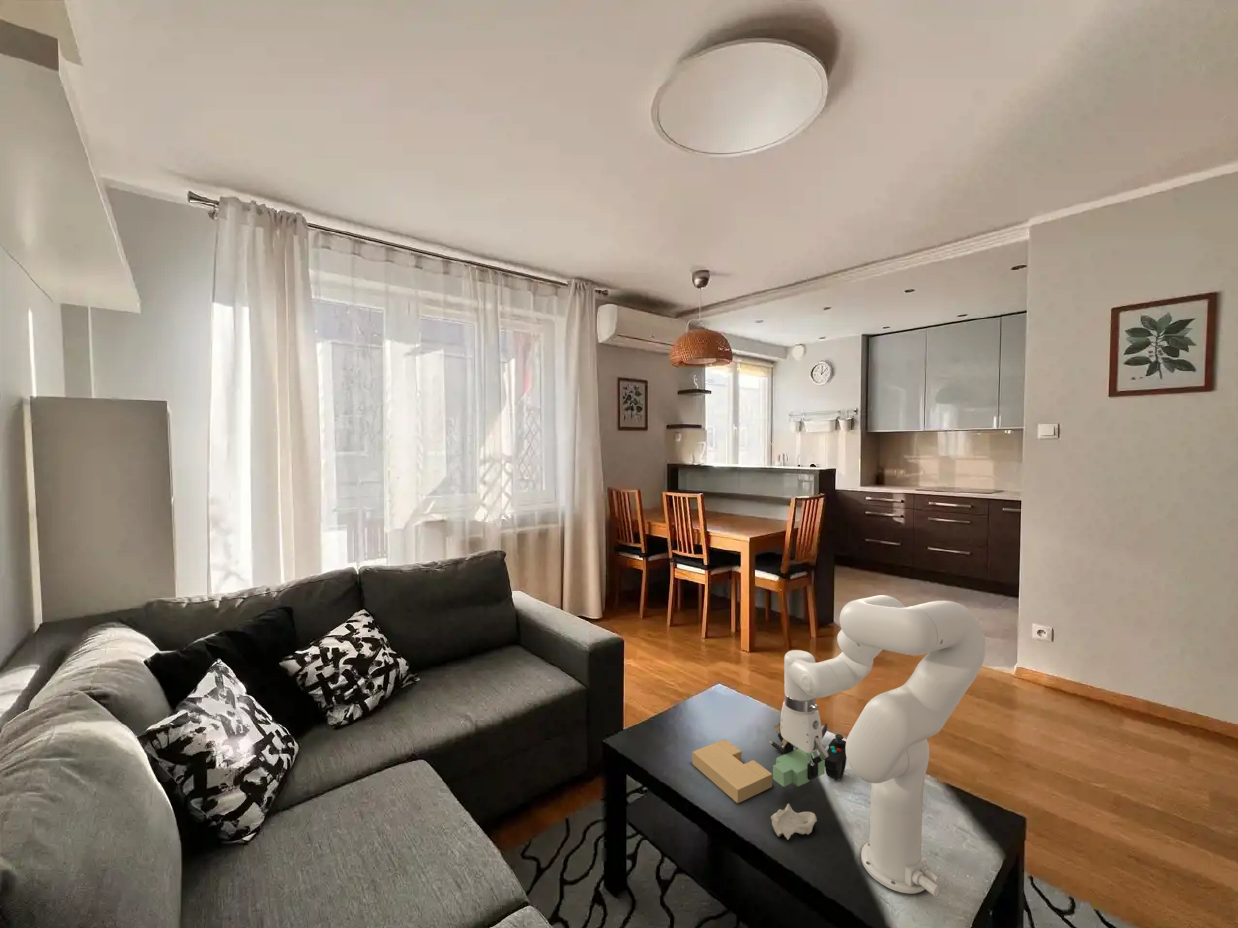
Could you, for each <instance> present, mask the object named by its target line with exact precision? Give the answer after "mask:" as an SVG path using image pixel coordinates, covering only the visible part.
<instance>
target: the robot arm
mask: <svg viewBox="0 0 1238 928" xmlns="http://www.w3.org/2000/svg"><path fill="white" fill-rule="evenodd" d="M838 619H839V620H838V621H839V627H840V631H838V632H837V635H836V640H837V645H838V647H839V649H840V650H841V652H840V653H839V654H838V655H837V656H836V657H834V658H830V659H826V660H822V661H818V662H816V659H815V656H814V655H813V654H812V653H810V652H809V651H805V650H800V649H792V650H789V651H787V652H786V653H785V654H784V658H783V659H784V660H783V662H784V663H783V669H784V671H783V672H784V673H783V674H784V675H783V676H784V678H783V679H784V680H783V681H784V683H783V684H784V688H783V689H784V691H783V692H784V693H783V694H784V696H783V697H784V700H783V702H782V706H781V713H780V722H779V723H776V724H775V725H774V729H775V732H776V734H777V737H778V739H779V741H780V747H781V748H783V754H782V756H783V755H785V754H787V753H789V752H792V751H794V748H795V747H796V748H797V749H801V750H803V751H804V752H806V754H807V757H808V760H809V763H808V764H807V768H808V779H809V780H810V781H812V780H815V779H817V778H818V763H819V762H821V761H823V760H824V759H825V758H827V757H828V756H829V755H828V753H827V749H826V748H825V746H824V745H823V739H822V721H821V715H820V712H819V705H818V704H817V701H816V699H823V698H827V697H830V696H833V695H836V694H839V693H842V692H845V691H849V690H851V689H852V688H854V687H856V686H857V685H858V684H860V682H861V681H863V680H864V679H865V678H866V677H867V676H868V675H869V674H870V673H871V671H872V670H873V665H874V659H875V658H876V657H877V656H878V655H880V653H881V652H882V651H883V650H884V651H888V652H892V653H897V654H902V655H907V656H921V655H925V656H923V658H922V659H921V660H920V661H919V662H918V664H917V665H916V666H915V669H914V671H913V672H912V674H911V675H910V676H909V678H908V679H907V681H906V682H905V683H904V684H902V685H901V686H899V687H896V688H893V689H890V690H887V691H884V692H881V693H879V694H877V695H875V696H873V697H872V698H871V699H870V700H869V701H868V702H867V703H866V705H865V706H864V708H863V709H862V711H860V712H861V713H860V714H859V716H858V717H857V719H856V721H855V723H854V724H853V726H852V728H851V730H850V731H849V733H848V735H847V737H846V740H845V741H846V747H845V751H846V762H847V763H848V765H849V767H850V769H851V771H852V772H853V773H854V774H855V775H856V777H858V778H859V779H861V780H863V781H864V782H867V783H870V810H869V811H870V812H869V815H870V817H869V841H868V842H866V843H865V844H864V845H863V846H862V847H861V852H860V859H861V863H862V866H863V867H864V869H865V870H866V872H867V873H868V874H869V876H870V877H872V878H873V879H874V880H875V882H877V883H879V884H881V885H882V886H884V887H885V888H888V889H890V890H892V891H895V892H898V893H901V894H910V895H911V894H912V895H913V894H918V893H919V894H920V893H921V892H923V891H925V890H926V891H927V892H928V893H930V894H931V895H933V897H938V895H939V893H940V886H939V883H940V877H938V876H937V875H936V874H934V873H933V872H931V871H930V870H929V869H928V867H927V858H926V857H924V856H923V855H922V838H923V837H922V834H923V833H922V831H923V807H924V806H923V805H924V787H925V779H926V775H927V770H928V766H929V761H930V745H929V742H928V739H930V738H932V737H934V736H935V735H937V734H939V733H940V731H941V730H942V729H943V728H944V726H945V725H946V723H947V722H948V721H949V718H950V717H951V715H952V714H953V712H954V711H955V710H956V708H957V707H958V706H959V703H960V702H961V700H962V699H963V697H964V696H965V694H966V692H967V691H968V690H969V688H970V687H971V685H972V684H973V682H974V681H975V680H976V678H977V676H978V675H979V672H980V671H981V669H982V666H983V664H984V661H985V657H986V650H987V649H986V638H985V635H984V631H983V628H982V626H981V623H980V622H979V619H977V617H976V616H975V615H974V613H973V612H972V611H971V610H970V609H969V608H968V607H966V606H965V605H964V604H962V603H960V602H955V601H952V600H932V601H928V602H924V603H920V604H915V605H910V606H905V605H904V604H903V602H901V601H900V600H899V599H897V598H896V597H893V596H890V595H886V594H880V595H873V596H868V597H863V598H857V599H854V600H851V601H849V602H847V603H846V604H845V605H844V606H843V607H842V609H841V611H840V614H839V618H838ZM811 753H813V755H814V757H815V758H814V759H813V757H812V754H811Z"/></svg>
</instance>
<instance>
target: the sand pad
mask: <svg viewBox="0 0 1238 928" xmlns="http://www.w3.org/2000/svg"><path fill="white" fill-rule="evenodd" d="M691 753H692V754H691V756H692V759H691V761H692V762H691V764H692V766H694V767H695V768H697V770H698V771H700V772H701V773H702V775H704V776H705V777H706V778H708V779H709V780H710V781H711V782H712V783H714V784H715V786H716V787H718V788H719V789H720V790H721V791H722V792H723V793H725V794H726V795H727V796H729V797H730V798H731V799H732V800H733V801H734V802H735V803H736V804H740V803H742V802H744V801H746V800H748V799H750V798H752V797H754V796H756V795H758V794H760V793H762V792H764V791H767V790H769V789H771V788H773V772H770V771H769V770H768V769H767V768H765V767H764V766H762V765H761V764H760V763H759V762H757V761H755V760H754V759H752V760H750V761H748V762H745V763H743V762H742V750H741V749H739V748H738V747H737V746H736V745H734V744H732V743H731V742H730V741H728V739H726V738H725V739H722V740H719V741H716V742H713V743H711V744H709V745H706V746H703V747H700V748H697V749H695V750H693V751H692V752H691Z"/></svg>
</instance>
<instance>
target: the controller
mask: <svg viewBox="0 0 1238 928" xmlns="http://www.w3.org/2000/svg"><path fill="white" fill-rule="evenodd" d="M846 741H847V740H844V736H843V735H842V734H839V733H836V734H835V735H834V738H832V740H831V741H830V743H829V744H828V749H826V751H827V753H828V755H829V756H828V757H827V758H825V759H824V760H825V774H826V776H827V777H828V778H830V779H832V780H835V781H840V780H841V779H842V778H843V776H844V774H845V770H846V765H847V758H846V751H845V747H846Z"/></svg>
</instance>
